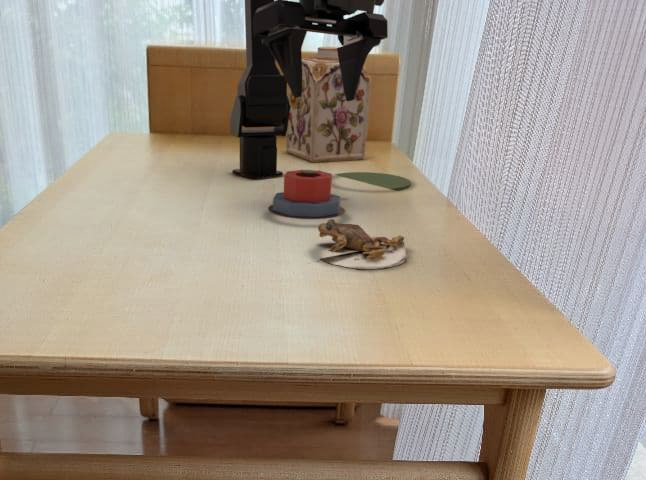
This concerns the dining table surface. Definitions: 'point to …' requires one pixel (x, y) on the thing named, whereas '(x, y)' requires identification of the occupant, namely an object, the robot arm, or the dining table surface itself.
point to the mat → (379, 179)
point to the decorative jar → (327, 112)
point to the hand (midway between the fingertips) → (324, 99)
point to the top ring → (307, 187)
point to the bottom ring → (306, 207)
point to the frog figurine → (362, 247)
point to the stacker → (341, 211)
